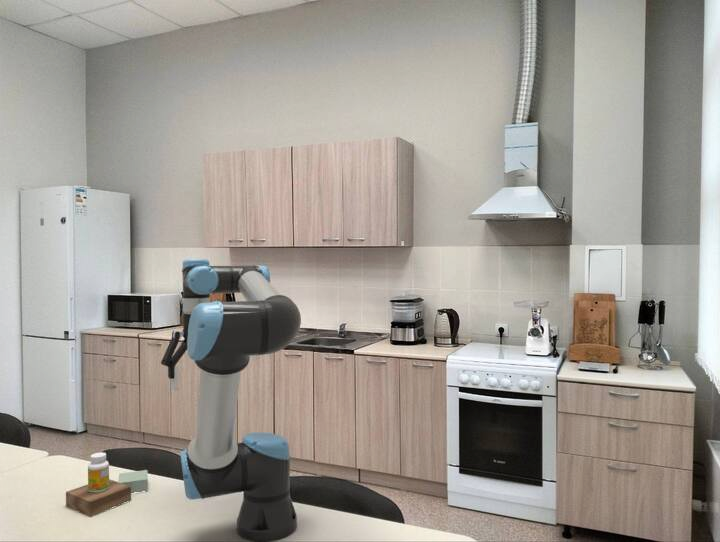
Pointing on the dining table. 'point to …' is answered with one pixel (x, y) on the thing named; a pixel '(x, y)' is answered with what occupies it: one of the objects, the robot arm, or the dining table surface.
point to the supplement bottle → (98, 473)
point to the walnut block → (97, 498)
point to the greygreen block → (135, 480)
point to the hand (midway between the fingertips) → (197, 386)
